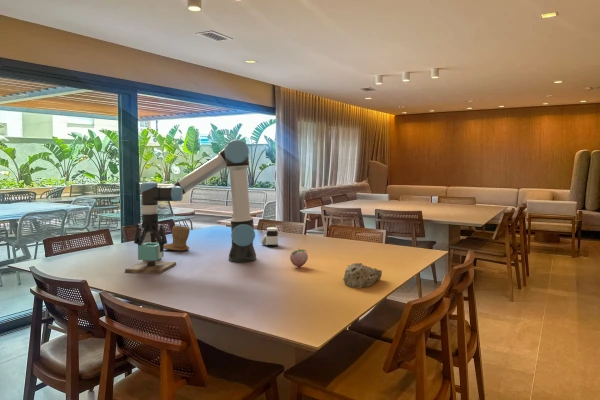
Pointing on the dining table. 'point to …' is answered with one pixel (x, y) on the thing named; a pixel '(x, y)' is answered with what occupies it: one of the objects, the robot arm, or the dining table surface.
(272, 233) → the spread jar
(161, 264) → the base plate
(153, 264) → the post
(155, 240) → the coffee box
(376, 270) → the rock
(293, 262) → the decorative fruit
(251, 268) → the dining table surface
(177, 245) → the brown piece
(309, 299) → the dining table surface
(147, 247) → the teal hollow square block
